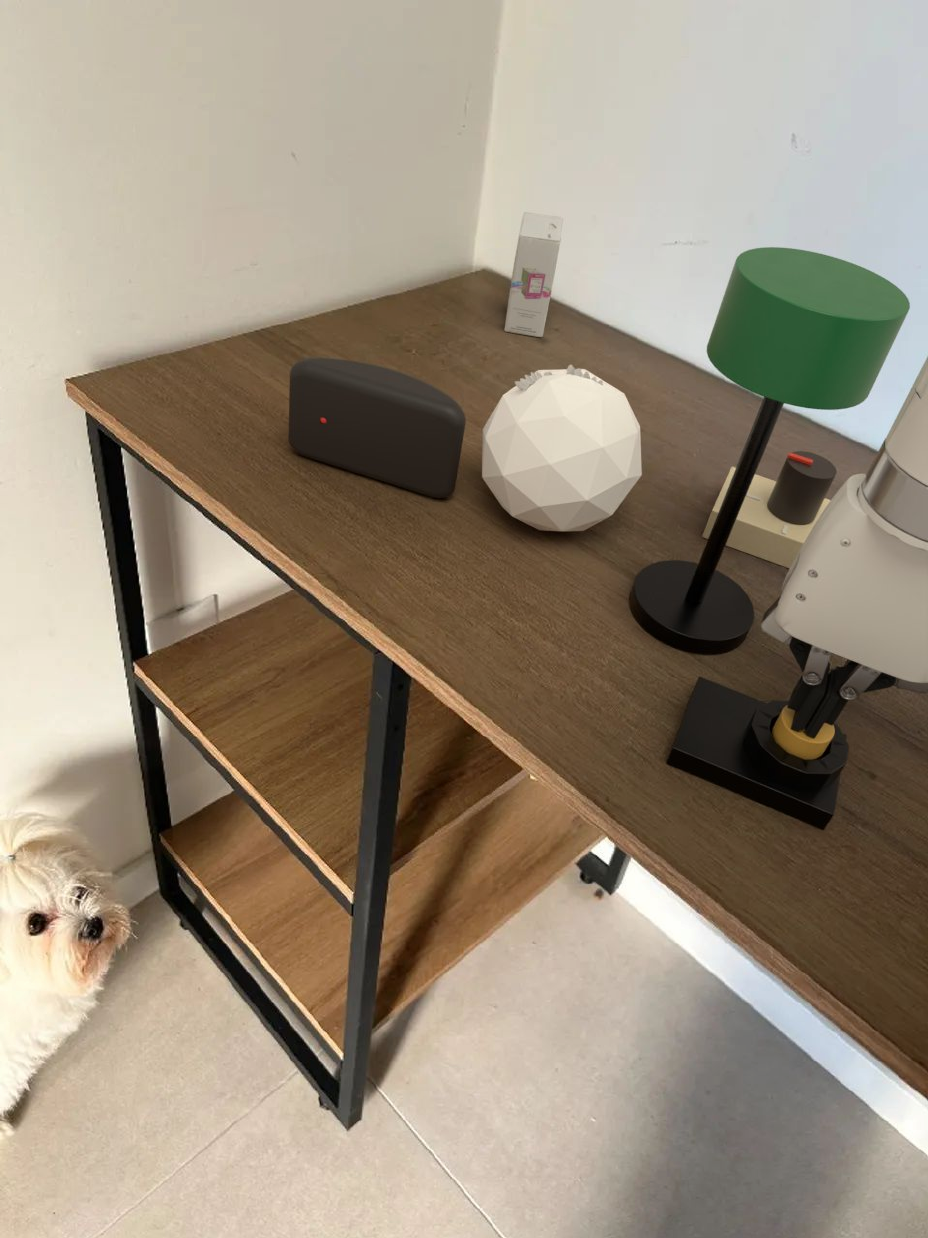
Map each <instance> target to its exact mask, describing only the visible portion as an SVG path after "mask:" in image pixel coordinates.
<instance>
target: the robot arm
mask: <svg viewBox="0 0 928 1238" xmlns="http://www.w3.org/2000/svg"><path fill="white" fill-rule="evenodd" d="M830 500H831V501H830V502H829V504H828V505H827V506H826V508H825V509H824V511H823V513H822V514H821V516H820V517H819V519H818V520H817V522H816V523H815V525H814V527H813V528H812V530H811V532H810V533H809V535H808V537H807V538H806V540H805V542H804V544H803V545H802V547H801V549H800V551H799V552H798V554H797V556H796V558H795V560H794V561H793V563H792V565H791V567H790V569H789V568H788V570H787V573H786V575H785V577H784V580H783V583H782V585H781V588H780V589H781V590H780V591H781V594H780V595H779V597H778V598H777V599H776V600H775V601H774V602H773V603H772V604H771V605H770V606H769V607H768V609H767V610H766V611H765V612H764V613H763V617H762V620H761V623H760V629H761V630H762V632H764V633H765V634H766V635H768V636H770V637H772V638H773V639H775V640H776V641H778V642H779V643H781V644H783V645H787V646H788V647H789V650H790V652H791V653H792V655H793V657H794V659H795V661H796V662H797V664H798V666H799V668H800V670H801V672H802V674H801V675H800V677H799V678H798V680H797V683H796V684H795V686H794V688H793V690H792V692H791V694H790V696H789V698H788V701H789V702H788V706H787V708H789V709H792V710H794V711H795V713H794V717H793V721H792V725H791V729H792V730H795V731H797V732H799V731H803V730H804V728H805V733H807V736H809V737H812V738H815V737H816V736H817V734H818V732H819V731H820V729H821V728H822V726H823V724H824V723H826V724H829V725H831V726H832V725H833V724H834V723H835V724H836V722H837V719H838V718H839V716H840V714H841V713H842V711H843V710H844V708H845V706H847V703H848V702H849V701H856V700H857V699H859V698H860V697H861V696H862V694H865V693H869V692H870V693H871V692H875V691H880V690H885V689H889V688H892V687H896V689H899V690H902V691H903V690H904V691H909V692H914V693H919V694H928V356H927V357H926V359H925V361H924V362H923V364H922V366H921V368H920V369H919V373H918V375H917V376H916V378H915V380H914V382H913V384H912V386H911V388H910V390H909V391H908V394H907V395H906V398H905V400H904V401H903V404H902V405H901V407H900V410H899V411H898V413H897V415H896V417H895V419H894V421H893V423H892V425H891V427H890V429H889V431H888V433H887V435H886V437H885V438H884V440H883V442H882V443H881V445H880V448H879V450H878V451H877V453H876V455H875V457H874V459H873V461H872V463H871V465H870V467H869V469H868V471H867V472H866V473H856V474H852V475H851V476H850V477H848V478H847V480H846V481H845V482H844V483H843V484H842V485H841V487H840V488H839V489H838V490H837V491H836V492H835V494H834V495H833V497H832V498H831V499H830ZM832 654H834V655H837V656H839V657H842V658H844V659H847V660H845V662H844V664H843V666H840V665H836V666H835V668H831V667H830V666H831V663H830V659H831V656H832ZM805 726H806V727H805Z"/></svg>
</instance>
